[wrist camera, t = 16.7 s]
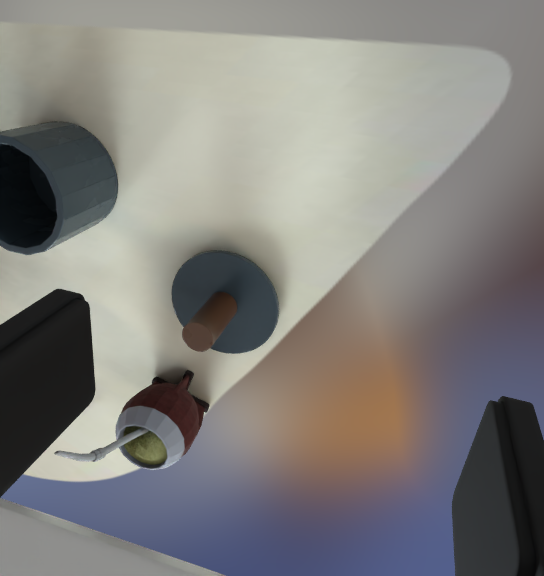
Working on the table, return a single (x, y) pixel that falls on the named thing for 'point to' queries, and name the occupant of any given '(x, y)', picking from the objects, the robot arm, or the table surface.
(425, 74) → the table surface
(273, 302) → the lid
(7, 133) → the pot
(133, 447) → the mate gourd
